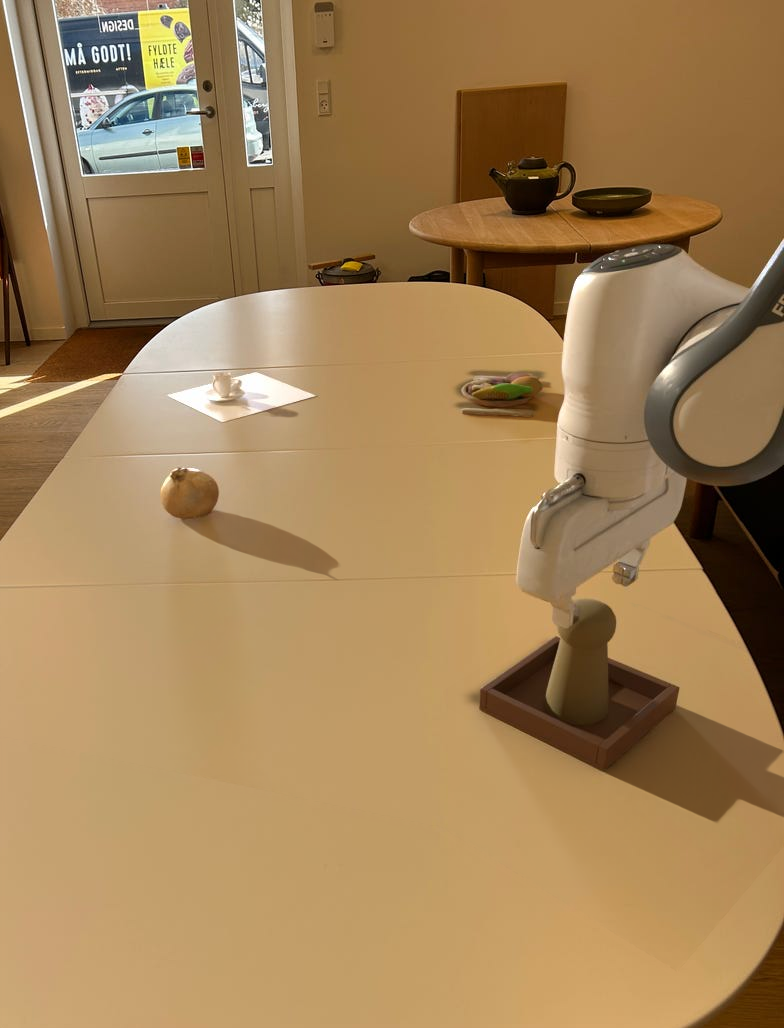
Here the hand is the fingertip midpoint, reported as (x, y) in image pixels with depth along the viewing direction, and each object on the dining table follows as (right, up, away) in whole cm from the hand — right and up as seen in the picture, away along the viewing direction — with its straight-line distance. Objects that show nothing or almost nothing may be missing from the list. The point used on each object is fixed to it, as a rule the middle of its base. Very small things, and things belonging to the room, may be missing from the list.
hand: (595, 602), depth 87 cm
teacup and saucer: (-38, +41, +91) cm, 107 cm away
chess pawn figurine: (0, -10, +6) cm, 11 cm away
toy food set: (+9, +39, +83) cm, 92 cm away
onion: (-42, +14, +48) cm, 65 cm away
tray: (0, -10, +6) cm, 12 cm away
